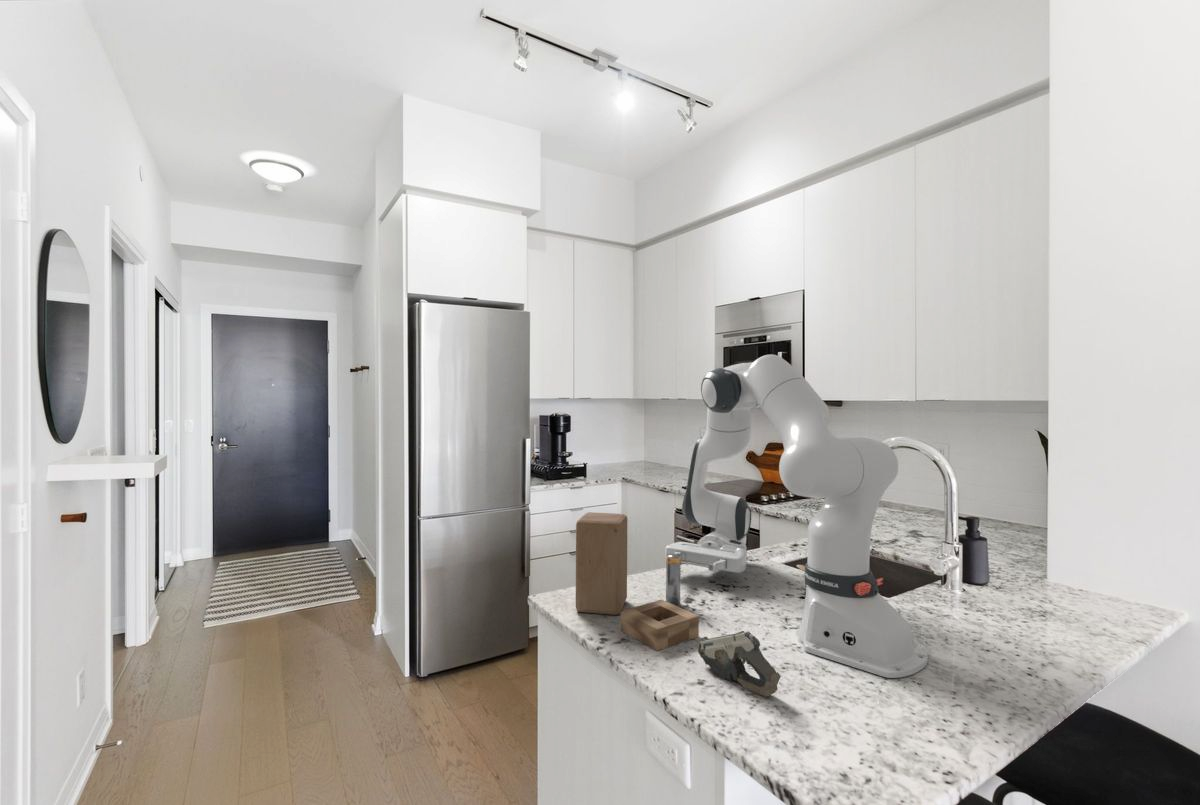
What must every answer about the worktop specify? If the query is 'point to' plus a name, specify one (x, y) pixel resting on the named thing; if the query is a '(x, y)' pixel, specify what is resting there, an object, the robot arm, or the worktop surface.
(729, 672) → the futuristic pistol
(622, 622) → the bore block
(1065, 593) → the worktop surface
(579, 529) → the wooden block
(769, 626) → the worktop surface
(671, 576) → the grey metal cylinder
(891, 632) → the robot arm
